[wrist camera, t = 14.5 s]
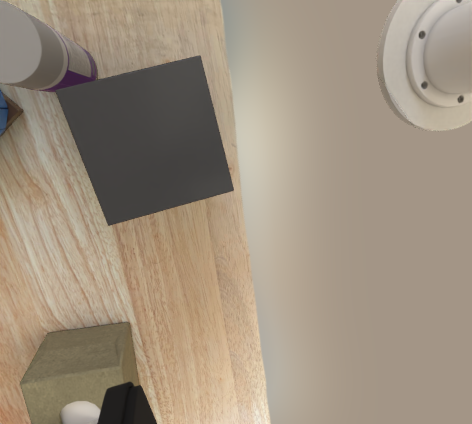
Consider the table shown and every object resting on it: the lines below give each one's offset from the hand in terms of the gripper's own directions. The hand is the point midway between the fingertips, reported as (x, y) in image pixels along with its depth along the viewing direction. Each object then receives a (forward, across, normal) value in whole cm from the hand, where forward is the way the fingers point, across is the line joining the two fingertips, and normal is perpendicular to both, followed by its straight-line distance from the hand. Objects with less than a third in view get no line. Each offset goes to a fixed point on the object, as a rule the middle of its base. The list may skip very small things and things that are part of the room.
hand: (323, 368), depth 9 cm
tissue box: (+31, +21, +25) cm, 45 cm away
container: (+32, +11, -13) cm, 36 cm away
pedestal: (+32, +4, -5) cm, 32 cm away
